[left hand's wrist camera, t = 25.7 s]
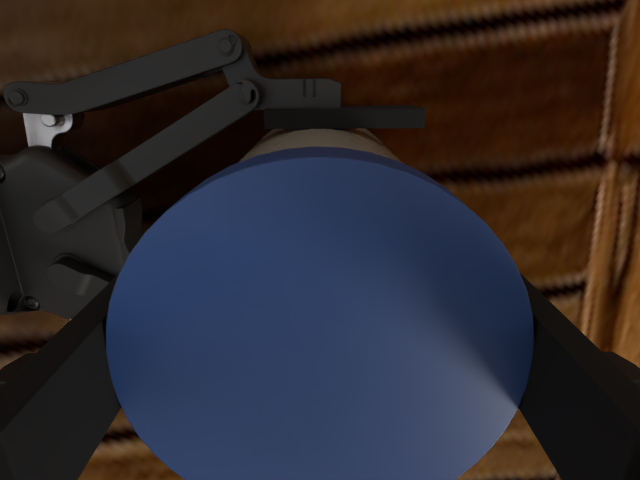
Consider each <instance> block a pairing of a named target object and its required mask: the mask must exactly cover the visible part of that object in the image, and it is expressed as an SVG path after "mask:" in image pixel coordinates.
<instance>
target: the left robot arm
mask: <svg viewBox="0 0 640 480" xmlns="http://www.w3.org/2000/svg"><path fill="white" fill-rule="evenodd" d="M118 275H119V274H118ZM118 275H117V276H116V277H115V278H114V279H113V280H112V281H111V282H110V283H109V284H108V285H107V286H106V287H104V288H103V289H102V290H101V291H100V292H99V293H98V294H97V295H96V296H95V297H94V298H93V299H92V300H91V301H90V302H89V303H88V304H87V305H86V306H85V307H84V308H83V309H82V310H81V311H80V312H79V313H77V314H76V315H75V316H74V317H73V318H72V319H71V320H70V321H69V322H68V323H67V324H66V325H65V326H64V327H63V328H62V329H61V330H60V331H59V332H58V333H57V334H56V335H55V336H54V337H53V338H52V339H50V340H49V341H48V342H47V343H46V344H45V345H44V346H43V347H42V348H41V349H40V350H39V351H38V352H37V353H27V354H25V355H23V356H22V357H20V358H18V359H16V360H15V361H13V362H11V363H9V364H8V365H6V366H4V367H3V368H2V369H1V370H0V480H77V479H78V478H79V476H80V474H81V473H82V471H83V470H84V468H85V466H86V465H87V463H88V461H89V460H90V458H91V456H92V455H93V453H94V451H95V450H96V448H97V446H98V445H99V443H100V442H101V440H102V438H103V437H104V435H105V433H106V432H107V430H108V428H109V427H110V425H111V423H112V422H113V420H114V418H115V417H116V415H117V413H118V412H119V410H120V409H121V405H120V403H119V401H118V399H117V397H116V394H115V391H114V387H113V384H112V379H111V375H110V370H109V365H108V360H107V354H106V321H107V314H108V308H109V302H110V299H111V296H112V292H113V289H114V286H115V283H116V280H117V277H118ZM520 275H521V277H522V280H523V282H524V285H525V287H526V290H527V293H528V297H529V302H530V306H531V310H532V315H533V328H534V350H533V357H532V363H531V368H530V373H529V377H528V382H527V387H526V390H525V392H524V395H523V397H522V400H521V402H520V405H519V407H518V408H519V409H520V411H521V413H522V414H523V416H524V418H525V419H526V421H527V422H528V424H529V426H530V427H531V429H532V431H533V432H534V434H535V436H536V437H537V439H538V441H539V442H540V444H541V446H542V447H543V449H544V451H545V452H546V454H547V455H548V457H549V459H550V460H551V462H552V464H553V465H554V467H555V469H556V470H557V472H558V474H559V475H560V477H561V479H562V480H640V368H638V367H637V366H636V365H635V364H633V363H631V362H630V361H628V360H626V359H624V358H623V357H621V356H619V355H617V354H616V353H614V352H601V351H600V350H599V349H598V348H597V347H596V346H595V345H594V344H593V343H592V342H591V341H590V340H589V339H588V338H587V337H586V336H585V335H584V334H583V333H582V332H581V331H580V330H579V329H578V328H577V327H575V326H574V325H573V324H572V323H571V322H570V321H569V320H568V319H567V318H566V317H565V316H564V315H563V314H562V313H561V312H560V311H559V310H558V309H557V308H556V307H555V306H554V305H553V304H552V303H551V302H550V301H548V300H547V299H546V298H545V297H544V296H543V295H542V294H541V293H540V292H539V291H538V290H537V289H536V288H535V287H534V286H533V285H532V284H531V283H530V282H529V281H528V280H527V279H526V278H525V277H524V276H523V275H522V274H520Z"/></svg>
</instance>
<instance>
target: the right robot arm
mask: <svg viewBox="0 0 640 480" xmlns="http://www.w3.org/2000/svg"><path fill="white" fill-rule="evenodd" d="M221 71H223V73H224V75H225V77H226V80H227V82H228V85H229V88H227V89H225V90H224V91H222V92H221V93H219V94H218V95H216V96H215V97H213V98H212V99H210V100H208V101H207V102H205V103H204V104H202V105H201V106H199V107H198V108H196V109H195V110H193V111H191V112H190V113H188V114H187V115H185V116H184V117H182V118H181V119H179V120H178V121H176V122H174V123H173V124H171V125H170V126H168V127H167V128H165V129H164V130H162V131H161V132H159V133H157V134H156V135H154V136H153V137H151V138H150V139H148V140H147V141H145V142H144V143H142V144H140V145H139V146H137V147H136V148H134V149H133V150H131V151H130V152H128V153H127V154H125V155H123V156H122V157H120V158H119V159H117V160H116V161H114V162H112V163H110V164H108V165H106V166H105V167H103V168H100V167H99V166H97V165H96V164H94V163H92V162H91V161H89V160H88V159H86V158H84V157H83V156H81V155H80V154H78V153H77V152H75V151H73V150H72V149H70V148H69V147H67V146H65V145H63V138H64V136H65V134H66V133H68V132H69V131H73V130H77V129H79V128H80V127H81V126H82V124H83V120H84V113H83V112H90V111H97V110H103V109H107V108H111V107H114V106H117V105H120V104H123V103H126V102H129V101H133V100H136V99H139V98H142V97H145V96H148V95H151V94H154V93H157V92H160V91H163V90H166V89H169V88H172V87H175V86H178V85H182V84H185V83H188V82H191V81H194V80H197V79H200V78H203V77H206V76H209V75H212V74H215V73H218V72H221ZM4 98H5V101H6V103H7V104H8V106H9V107H10V108H11V109H13V110H14V111H16V112H19V113H23V117H24V123H25V129H26V134H27V140H28V146H29V147H27V148H25V149H23V150H22V151H20V152H19V153H17V154H0V315H4V314H16V313H22V312H29V311H36V310H42V311H47V312H51V313H53V314H56V315H58V316H60V317H63V318H66V319H69V320H71V319H72V318H73V317H74V316H75V315H76V314H77V313H79V312H80V311H81V310H82V309H83V308H84V307H85V306H86V305H87V304H88V303H89V302H90V301H91V300H92V299H93V298H94V297H95V296H96V295H97V294H98V293H99V292H100V291H101V290H102V289H103V288H104V287H106V286H107V285H108V284H109V283H110V282H111V281H112V280H113V279H114V278H115V277H116V276H117V275H118V274H119V273H120V271H121V269H122V268H123V266H124V264H125V262H126V260H127V258H128V256H129V254H130V253H131V251H132V250H133V248H134V247H135V246H136V244H137V243H138V241H139V240H140V239H141V237H142V236H143V235H144V233H143V231H142V229H141V222H142V214H143V211H142V204H141V198H140V197H135V195H134V193H133V191H132V190H131V188H132V187H134V186H135V185H137V184H138V183H140V182H142V181H143V180H145V179H146V178H148V177H150V176H151V175H153V174H154V173H156V172H157V171H159V170H160V169H162V168H164V167H165V166H167V165H168V164H170V163H171V162H173V161H175V160H176V159H178V158H179V157H181V156H183V155H184V154H186V153H187V152H189V151H191V150H192V149H194V148H195V147H197V146H199V145H200V144H202V143H203V142H205V141H207V140H208V139H210V138H211V137H213V136H214V135H216V134H218V133H219V132H221V131H222V130H224V129H226V128H227V127H229V126H230V125H232V124H234V123H235V122H237V121H238V120H240V119H242V118H243V117H245V116H246V115H248V114H249V113H251V112H253V111H254V110H264V129H357V128H425V115H426V109H425V108H421V107H417V106H414V105H365V106H341V84H340V83H338V82H336V81H333V80H331V79H270V78H268V77H266V76H264V75H263V74H262V73H261V72H260V71H259V69H258V67H257V65H256V62H255V60H254V57H253V55H252V52H251V46H250V44H249V42H248V41H247V40H246V39H245V38H244V37H242V36H241V35H239V34H237V33H235V32H234V31H231V30H228V29H224V30H219V31H216V32H213V33H210V34H207V35H204V36H201V37H198V38H195V39H192V40H189V41H186V42H183V43H180V44H177V45H174V46H171V47H168V48H165V49H162V50H159V51H156V52H153V53H150V54H148V55H145V56H142V57H139V58H136V59H133V60H130V61H127V62H124V63H121V64H118V65H115V66H112V67H109V68H106V69H103V70H100V71H97V72H94V73H91V74H88V75H85V76H82V77H79V78H76V79H73V80H70V81H67V82H11V83H9V84H8V85H6V87H5V89H4Z"/></svg>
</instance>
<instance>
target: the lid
mask: <svg viewBox="0 0 640 480" xmlns="http://www.w3.org/2000/svg"><path fill="white" fill-rule="evenodd" d="M533 350H534V328H533V315H532V310H531V306H530V302H529V297H528V293H527V290H526V287H525V285H524V282H523V280H522V277H521V275H520V272H519V270H518V268H517V266H516V264H515V262H514V261H513V259H512V257H511V256H510V254H509V252H508V251H507V249H506V247H505V246H504V244H503V243H502V242H501V240H500V239H499V238H498V237H497V236H496V235H495V233H494V232H493V231H492V230H491V229H490V227H489V226H488V225H487V224H486V223H485V222H484V221H483V220H482V219H481V218H480V217H479V216H478V215H476V214H475V213H474V212H473V211H472V210H471V209H470V208H468V207H467V206H466V205H465V204H464V203H463V202H462V201H460V200H459V199H458V198H457V197H456V196H455V195H453V194H452V193H451V192H450V191H449V190H448V189H446V188H445V187H444V186H442V185H441V184H439V183H438V182H436V181H435V180H433V179H432V178H430V177H429V176H427V175H425V174H424V173H422V172H420V171H418V170H416V169H414V168H412V167H410V166H408V165H405V164H403V163H401V162H399V161H397V160H394V159H390V158H387V157H384V156H381V155H378V154H374V153H371V152H366V151H360V150H354V149H348V148H343V147H317V146H312V147H301V148H291V149H283V150H279V151H274V152H270V153H266V154H262V155H257V156H254V157H252V158H249V159H247V160H244V161H241V162H239V163H236V164H234V165H231V166H229V167H227V168H225V169H223V170H222V171H220V172H218V173H216V174H214V175H213V176H211V177H209V178H207V179H206V180H204V181H203V182H202V183H200V184H199V185H198V186H196V187H195V188H194V189H192V190H191V191H190V192H188V193H187V194H186V195H184V196H183V197H182V198H181V199H180V200H179V201H177V202H176V203H175V204H174V205H173V206H171V207H170V208H169V209H168V210H167V211H166V212H165V213H164V214H163V215H162V216H161V217H160V218H159V219H158V220H157V221H156V222H155V223H154V224H153V225H152V226H151V227H150V228H149V229H148V230H147V231H146V232H145V233H144V235H143V236H142V237H141V239H140V240H139V241H138V243H137V244H136V246H135V247H134V248H133V250H132V251H131V253H130V254H129V256H128V258H127V260H126V262H125V264H124V266H123V268H122V269H121V271H120V273H119V275H118V277H117V280H116V283H115V286H114V289H113V292H112V296H111V299H110V302H109V308H108V314H107V321H106V354H107V360H108V365H109V370H110V375H111V379H112V384H113V387H114V391H115V394H116V397H117V399H118V401H119V403H120V405H121V407H122V409H123V411H124V413H125V415H126V417H127V419H128V421H129V422H130V424H131V425H132V427H133V428H134V430H135V431H136V433H137V434H138V436H139V437H140V438H141V439H142V441H143V442H144V443H145V444H146V445H147V446H148V447H149V449H150V450H151V451H152V452H153V453H154V454H155V455H156V456H157V457H158V458H159V459H160V460H161V461H162V462H163V463H165V464H166V465H167V466H168V467H169V468H170V469H171V470H172V471H174V472H175V473H177V474H178V475H179V476H181V477H182V478H184V479H185V480H455V479H457V478H458V477H459V476H461V475H462V474H463V473H464V472H466V471H467V470H468V469H469V468H471V467H472V466H473V465H474V464H476V463H477V462H478V461H479V460H480V459H481V458H482V457H483V456H484V455H485V454H486V453H487V452H488V451H489V450H490V449H491V447H492V446H493V445H494V444H495V443H496V441H497V440H498V439H499V437H500V436H501V435H502V433H503V432H504V431H505V430H506V428H507V426H508V425H509V423H510V421H511V420H512V418H513V416H514V414H515V413H516V411H517V409H518V407H519V405H520V402H521V400H522V397H523V395H524V392H525V390H526V387H527V382H528V377H529V373H530V368H531V363H532V357H533Z"/></svg>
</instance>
